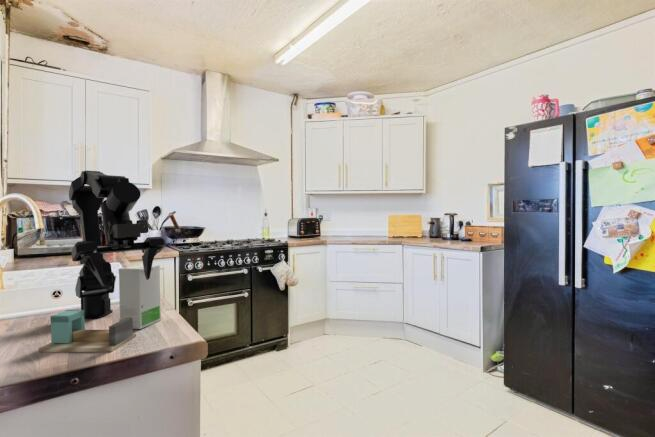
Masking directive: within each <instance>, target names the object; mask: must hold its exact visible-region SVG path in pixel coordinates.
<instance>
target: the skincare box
mask: <svg viewBox="0 0 655 437" xmlns="http://www.w3.org/2000/svg"><path fill="white" fill-rule="evenodd" d="M160 271H161V270H160V265H159V264H152V268H151V273H150V278H149V279H148V280H146V277H145V273H144V266H143V264H138V265H134V266H133V265H132V266H127V267H121V268H120V267H119V268H118V282H119V283H118V285H119V286H118V287H119V289H118V290H119V292H118V293H119V321H121V320H123V319H125V318H130V317H133V330H141V329H144V328H146V327H149V326H150V325H154V324H156V323H158V322H160V321H161V320H162V318H161V317H162V315H161V309H162V307H161V276H160V275H161V274H160Z"/></svg>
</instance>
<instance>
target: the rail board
mask: <svg viewBox="0 0 655 437" xmlns="http://www.w3.org/2000/svg"><path fill="white" fill-rule="evenodd" d="M136 337H137V333H136V332H134V329H133V317H130V318H125V319H123V320H121V321H120V320H119V321H118V322H115V323H112V324H111V325H110V326H108V329H85V330H72V342H70V343H51V342H49V343H47V344H45V345H42V346H41V347H39V348H38V353H44V352H45V353H53V352H55V353H63V352H65V353H66V352H67V353H68V352H70V353H72V352H73V353H74V352H75V353H77V352H78V353H81V352H82V353H85V352H86V353H91V352H93V353H94V352H95V353H97V352H98V353H99V352H101V353H102V352H105V353H107V352H109V353H112V352H114V351H116V349H119V348H120V347H121V346H123V345H125V344H127V343H128V342H130V341H131V340H132V339H133V340H134V338H136Z"/></svg>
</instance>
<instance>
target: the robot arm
mask: <svg viewBox="0 0 655 437" xmlns="http://www.w3.org/2000/svg"><path fill="white" fill-rule="evenodd" d="M140 198H141V190H140V189H139V188H138V186H137V185H135V184H134V183H132V182H130V180H129V178H128V177H125V176H124V175H112V174H111V175H108V174H105V173H104V172H101V171H98V170H84V171H83V170H82V171H81V173H80V175H79V176H78V177H77V178H76V179H74V180H72V181H71V183H70V185H69V189H68V199H69V201H71V205H72V209H74V211H75V212H76V213H77V214H78V215H79V218H80V226H81V236H82V237H81V238H82V240H81V241H77V242H76V243H74V246H73V248H72V249H71V260H72V262H79V265H82V266H81V269H80V270H79V272H78V274H79V276H77V280H76V285H75V296H76V297H78V299H80V310H84V319H99V318H102V317H104V316H106V315H108V314H110V313H113V309H112V306H111V298H110V294H113V293H114V292H115V285H116V284H115V283H116V278H117V276H116V275H115V274H114V272H113V271H112V264H111V263H110V262H109V261H106V260H105V258H104V254H111V253H120V252H121V253H124V252H136V251H141V253H143V255H142V256H141V258H142V260H141V261H142V265H143V266H144V273H145V277H146V280H148V279H149V278H150V273H151V268H152V265H153V261H154V258H155V257H156V256H157V255H158V254H159V253H160V252H162V250H164V248H166V246H167V243H166V240H165V239H164V237H163V236H149V237H146V238H145V239H144V241H141V242H140V241H139V242H135V241H137V240H138V238H141V237H142V236H141V235H142V234H147V233H149V232H150V231H149V223H148V220H147V219H138V220H136V223H133V220H132V219H131V217H130V211H132V210H133V208H134V207H135V205H136V204H137V202H138V200H140ZM99 211H101V216H102V224H103V230H102V231H103V235H105V236H104V237H105V242H106V244H102V238H101V236H102V235H101V229H100V228H101V226H100V219H99V218H100V217H99Z"/></svg>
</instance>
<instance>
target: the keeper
mask: <svg viewBox="0 0 655 437" xmlns="http://www.w3.org/2000/svg"><path fill="white" fill-rule="evenodd" d="M85 326H86V325H85V318H84V310H81V309H67V310H64V311H61V312H58V313H56V314H53V315H51V316H50V338H51V339H50V340H51V342H50V343H70V342H72V330H86V329H85V328H86V327H85Z"/></svg>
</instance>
